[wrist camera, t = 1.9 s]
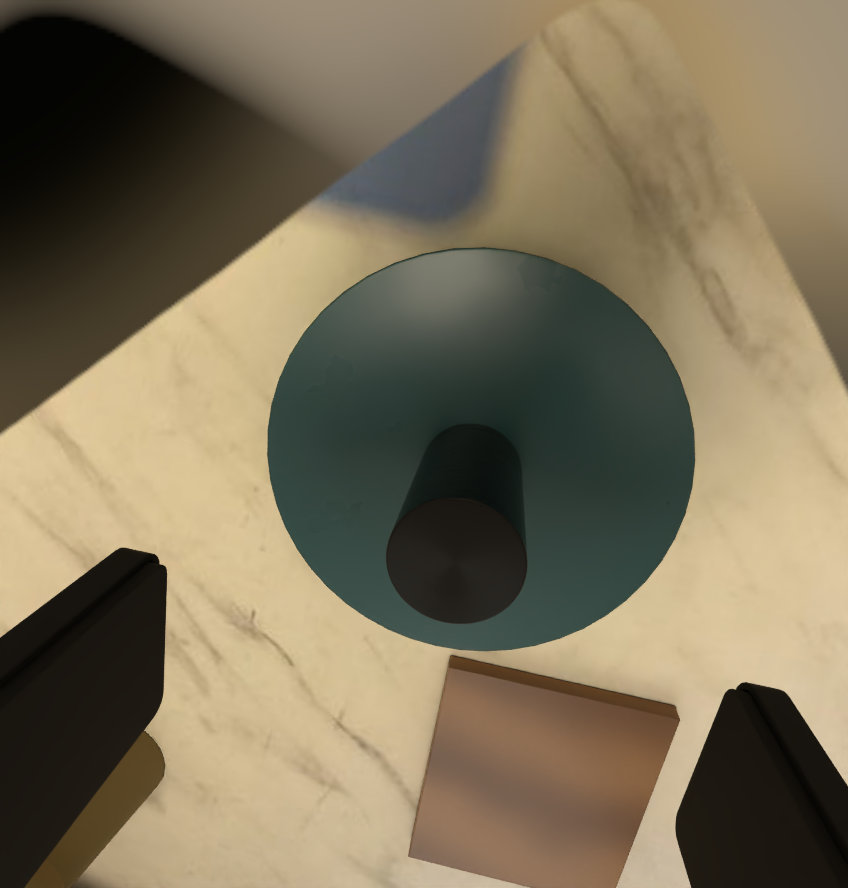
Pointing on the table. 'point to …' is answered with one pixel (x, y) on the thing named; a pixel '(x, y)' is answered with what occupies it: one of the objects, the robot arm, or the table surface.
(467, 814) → the plate
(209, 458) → the table surface
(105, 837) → the pepper shaker
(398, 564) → the lid
